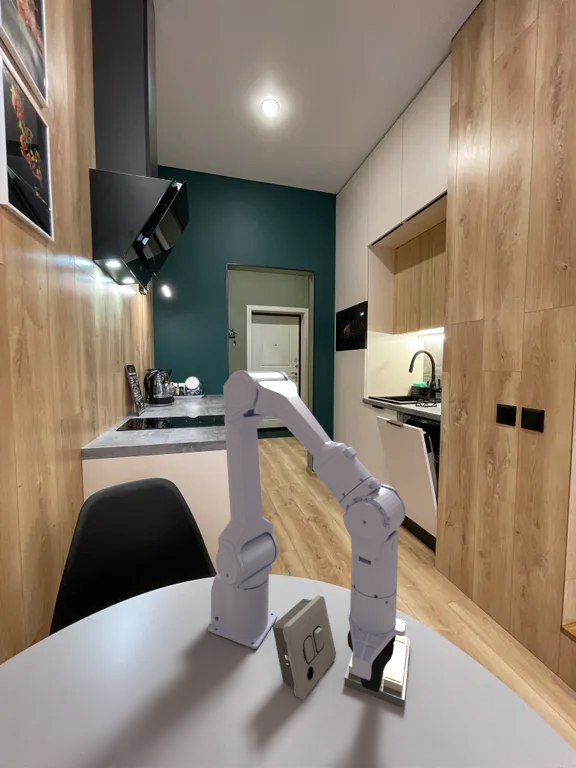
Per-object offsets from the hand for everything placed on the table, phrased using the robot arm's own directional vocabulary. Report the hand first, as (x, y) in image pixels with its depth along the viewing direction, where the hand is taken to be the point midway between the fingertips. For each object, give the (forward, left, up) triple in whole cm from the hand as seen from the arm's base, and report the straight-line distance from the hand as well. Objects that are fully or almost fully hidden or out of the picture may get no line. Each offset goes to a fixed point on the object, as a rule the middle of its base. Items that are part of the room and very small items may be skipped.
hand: (370, 685), depth 44 cm
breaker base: (0, +7, -3) cm, 8 cm away
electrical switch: (-10, +2, -4) cm, 11 cm away
